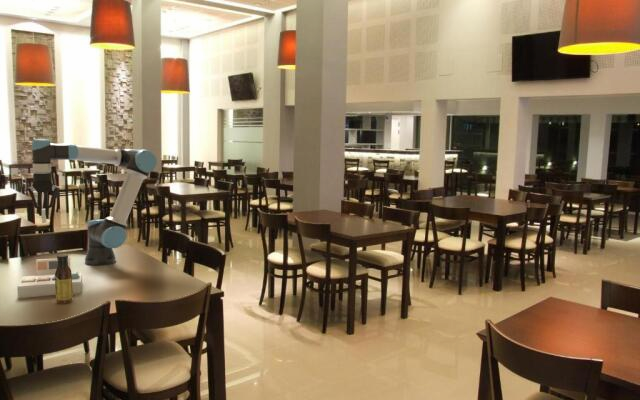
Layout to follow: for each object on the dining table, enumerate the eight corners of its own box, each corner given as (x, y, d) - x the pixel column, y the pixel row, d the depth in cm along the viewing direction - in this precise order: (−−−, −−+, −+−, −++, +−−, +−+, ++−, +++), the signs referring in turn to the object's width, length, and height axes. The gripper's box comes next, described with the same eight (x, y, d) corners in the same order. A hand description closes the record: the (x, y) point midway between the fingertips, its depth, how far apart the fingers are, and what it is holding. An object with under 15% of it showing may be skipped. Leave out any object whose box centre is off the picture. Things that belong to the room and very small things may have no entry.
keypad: (82, 282, 241) (81, 272, 240) (81, 292, 226) (80, 281, 226) (22, 287, 232) (22, 276, 231) (17, 298, 217) (17, 286, 216)
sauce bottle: (59, 299, 217) (58, 252, 215) (75, 299, 218) (73, 252, 215) (53, 304, 211) (51, 256, 208) (69, 304, 211) (67, 256, 209)
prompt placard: (70, 280, 244) (70, 257, 243) (70, 281, 243) (69, 258, 242) (36, 283, 238) (36, 259, 237) (36, 283, 238) (35, 260, 236)
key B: (49, 285, 230) (49, 276, 230) (49, 288, 227) (48, 278, 226) (39, 286, 229) (38, 277, 228) (38, 289, 225) (37, 279, 224)
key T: (35, 286, 228) (34, 277, 228) (34, 289, 224) (33, 279, 224) (24, 287, 227) (23, 278, 226) (22, 290, 223) (22, 280, 222)
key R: (78, 280, 235) (78, 271, 234) (78, 282, 231) (78, 273, 230) (68, 281, 233) (68, 271, 233) (67, 283, 229) (67, 274, 229)
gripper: (58, 172, 248) (60, 220, 251) (27, 172, 243) (29, 221, 246) (57, 173, 241) (59, 223, 244) (25, 173, 236) (27, 224, 239)
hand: (44, 222), depth 245 cm, fingers closed
